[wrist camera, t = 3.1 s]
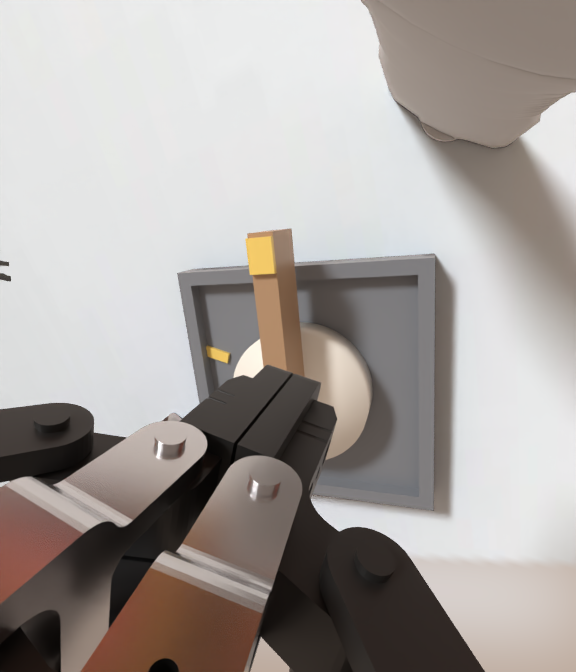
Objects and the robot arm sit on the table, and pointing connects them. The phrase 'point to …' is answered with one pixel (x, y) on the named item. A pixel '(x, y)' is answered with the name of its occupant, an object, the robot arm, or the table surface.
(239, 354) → the plate
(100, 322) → the table surface
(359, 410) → the dial
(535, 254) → the table surface
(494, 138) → the tall pale column
